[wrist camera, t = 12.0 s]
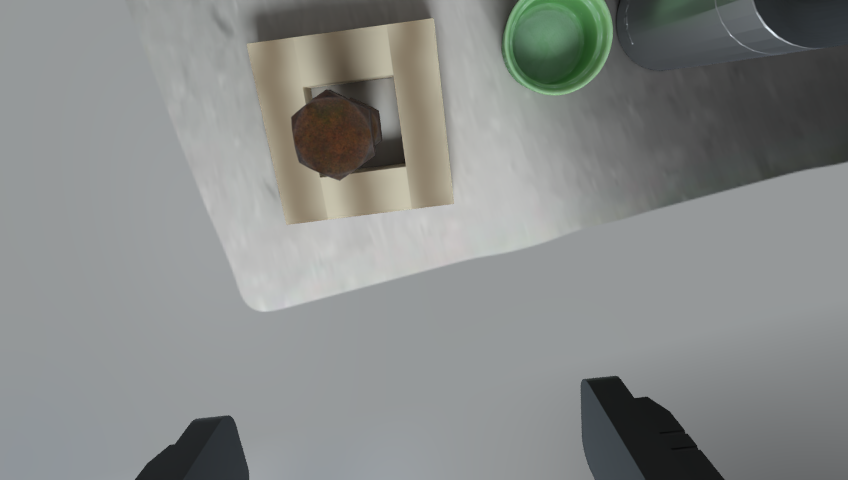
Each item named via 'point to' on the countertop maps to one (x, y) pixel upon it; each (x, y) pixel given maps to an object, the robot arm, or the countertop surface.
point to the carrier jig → (346, 63)
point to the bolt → (335, 134)
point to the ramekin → (557, 43)
